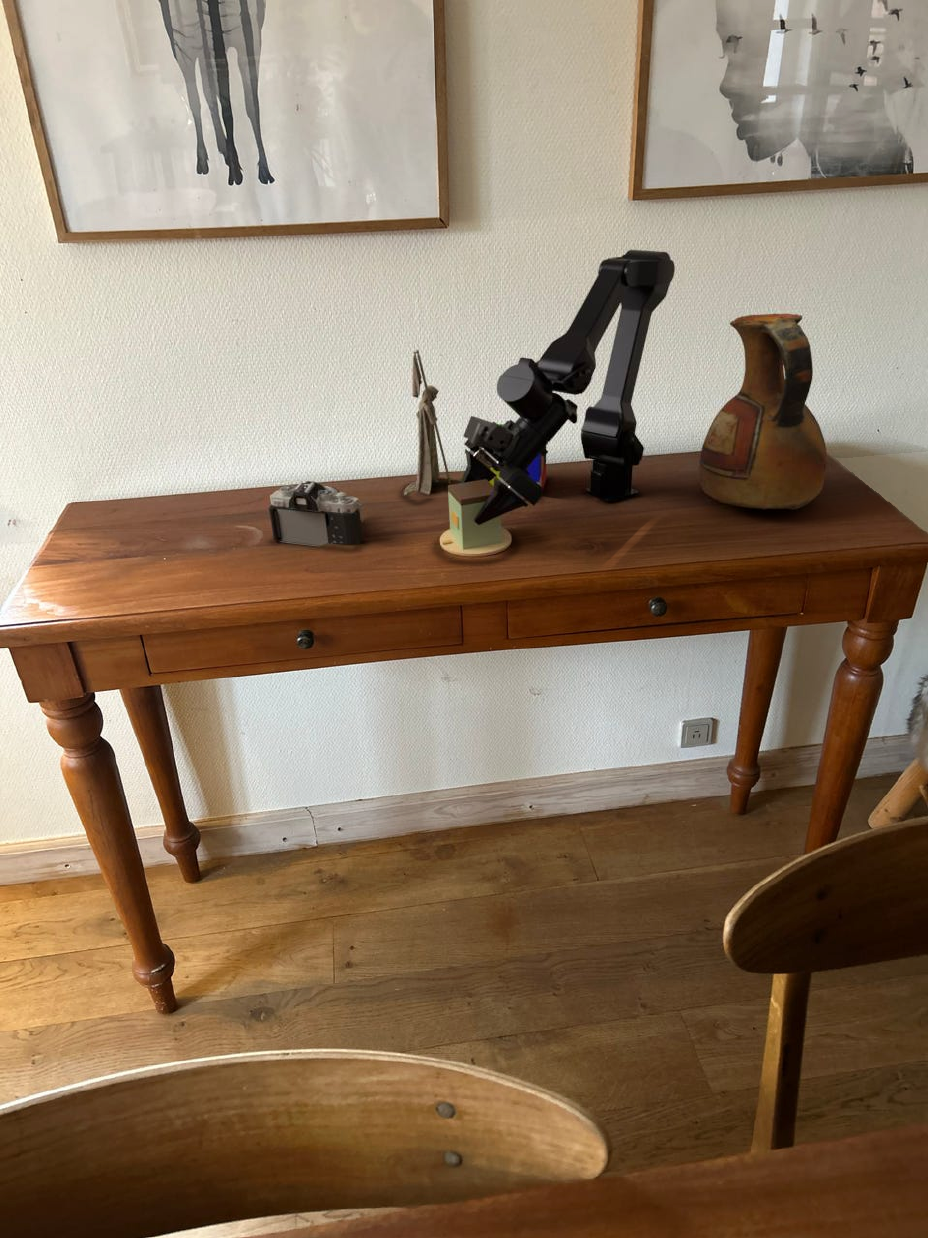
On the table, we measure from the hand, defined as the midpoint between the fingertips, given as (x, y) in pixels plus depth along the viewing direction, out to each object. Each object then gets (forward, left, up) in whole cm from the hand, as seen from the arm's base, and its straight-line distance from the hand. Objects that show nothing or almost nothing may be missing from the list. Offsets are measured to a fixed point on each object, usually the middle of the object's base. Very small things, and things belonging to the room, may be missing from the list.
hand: (465, 511), depth 134 cm
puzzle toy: (-19, -16, -6) cm, 26 cm away
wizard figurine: (-6, -24, -6) cm, 25 cm away
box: (-1, 0, -5) cm, 5 cm away
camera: (+17, -17, -6) cm, 24 cm away
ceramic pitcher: (-48, +13, -6) cm, 51 cm away
